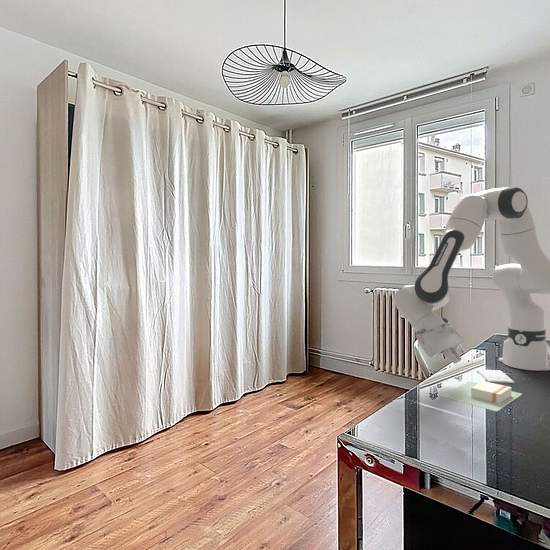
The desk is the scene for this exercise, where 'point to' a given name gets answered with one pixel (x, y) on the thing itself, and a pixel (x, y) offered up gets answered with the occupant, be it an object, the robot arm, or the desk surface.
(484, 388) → the card box
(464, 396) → the mat
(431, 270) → the robot arm
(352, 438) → the desk surface
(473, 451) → the desk surface
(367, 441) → the desk surface
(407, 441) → the desk surface
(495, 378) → the external hard drive
